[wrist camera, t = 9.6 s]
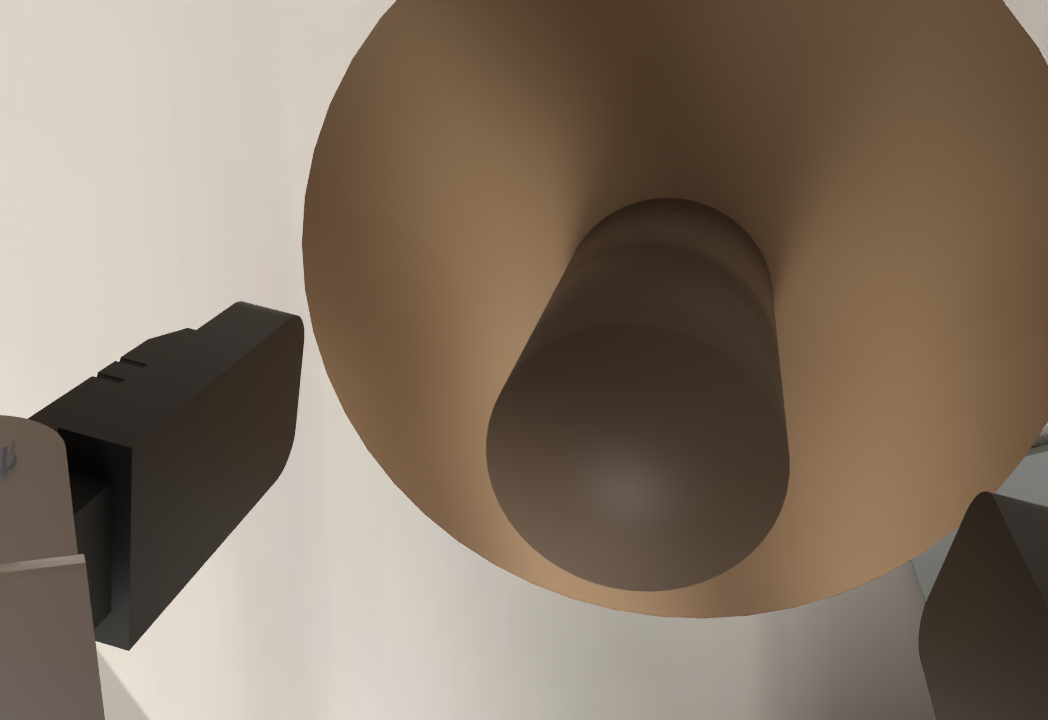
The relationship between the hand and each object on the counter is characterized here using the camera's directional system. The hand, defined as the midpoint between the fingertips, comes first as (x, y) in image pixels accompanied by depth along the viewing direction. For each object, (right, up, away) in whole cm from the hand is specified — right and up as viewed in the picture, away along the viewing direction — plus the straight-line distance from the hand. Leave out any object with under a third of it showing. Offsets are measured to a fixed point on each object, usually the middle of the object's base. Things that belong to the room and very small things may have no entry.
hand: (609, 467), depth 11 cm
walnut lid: (+2, +3, +7) cm, 7 cm away
